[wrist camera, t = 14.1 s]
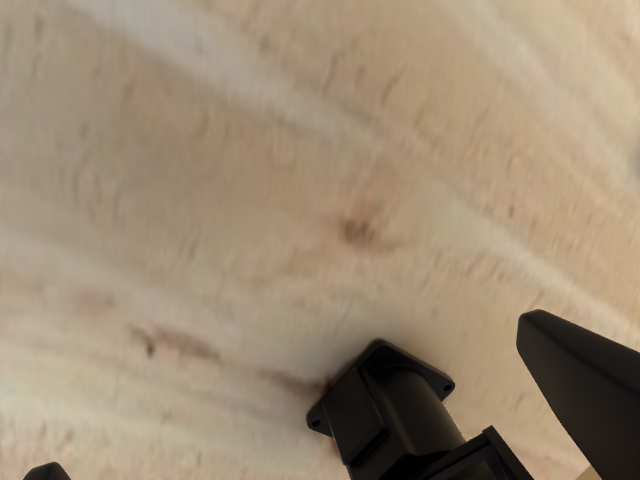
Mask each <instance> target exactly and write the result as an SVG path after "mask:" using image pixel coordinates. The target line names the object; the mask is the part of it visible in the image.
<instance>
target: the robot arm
mask: <svg viewBox="0 0 640 480" xmlns="http://www.w3.org/2000/svg"><path fill="white" fill-rule="evenodd" d="M516 345H517V350H518V352H519V354H520V356H521V358H522V360H523V361H524V363H525V365H526V366H527V368H528V370H529V371H530V373H531V375H532V377H533V378H534V380H535V382H536V383H537V385H538V387H539V388H540V390H541V392H542V393H543V395H544V397H545V399H546V400H547V402H548V404H549V405H550V407H551V409H552V410H553V412H554V414H555V415H556V417H557V418H558V420H559V421H560V423H561V424H562V426H563V427H564V428H565V430H566V431H567V433H568V434H569V435H570V437H571V438H572V439H573V441H574V442H575V443H576V445H577V446H578V447H579V449H580V450H581V451H582V453H583V454H584V456H585V457H586V458H587V460H588V461H589V462H590V464H591V465H592V466H593V467H594V469H595V470H596V472H597V473H598V474H599V476H600V477H601V478H602V480H640V353H639V352H637V351H635V350H633V349H630V348H628V347H626V346H623V345H621V344H619V343H617V342H614V341H612V340H610V339H608V338H605V337H603V336H601V335H599V334H596V333H594V332H592V331H589V330H587V329H585V328H583V327H580V326H578V325H576V324H574V323H571V322H569V321H567V320H565V319H562V318H560V317H558V316H555V315H553V314H551V313H549V312H546V311H544V310H540V309H537V310H533V311H530V312H527V313H523V314H522V315H521V316H520V317H519V320H518V330H517V340H516ZM380 349H382V350H381V351H379V350H380ZM454 388H455V383H454V382H453V380H452V379H451V378H450V377H449V376H447V375H445V374H443V373H442V372H440V371H438V370H436V369H435V368H433V367H431V366H429V365H427V364H426V363H424V362H422V361H420V360H418V359H417V358H415V357H413V356H411V355H409V354H408V353H406V352H404V351H402V350H400V349H399V348H397V347H395V346H393V345H392V344H390V343H388V342H386V341H384V340H379V341H376V342H374V343H373V344H372V345H371V346H370V347H369V348H368V350H367V351H366V352H365V353H364V354H363V355H362V356H361V357H360V358H359V359H358V360H357V362H356V363H355V364H354V365H353V366H352V367H351V368H350V369H349V370H348V371H347V373H346V374H345V375H344V376H343V377H342V378H341V379H340V380H339V381H338V382H337V383H336V385H335V386H334V387H333V388H332V389H331V390H330V391H329V392H328V393H327V394H326V395H325V397H324V398H323V399H322V400H321V401H320V402H319V403H318V404H317V405H316V406H315V407H314V409H313V410H312V411H311V412H310V413H309V414H308V415H307V417H306V421H307V425H308V427H309V428H310V429H312V430H314V431H317V432H319V433H322V434H325V435H327V436H330V437H332V438H334V440H335V443H336V446H337V449H338V452H339V455H340V458H341V461H342V463H343V465H345V466H346V467H347V470H348V473H349V476H350V479H351V480H534V479H533V478H532V476H531V475H530V474H529V472H528V471H527V470H526V469H525V467H524V466H523V465H522V463H521V462H520V461H519V459H518V458H517V457H516V456H515V454H514V453H513V452H512V450H511V449H510V448H509V447H508V445H507V444H506V443H505V441H504V440H503V439H502V437H501V436H500V435H499V434H498V432H497V431H496V430H495V428H494V427H493V426H492V425H491V426H489V427H488V428H486V429H484V430H482V432H483V433H481V434H480V435H478V436H476V437H474V438H473V439H471V440H469V441H467V442H466V441H465V439H464V438H463V436H462V435H461V433H460V431H459V430H458V428H457V426H456V425H455V423H454V422H453V420H452V418H451V417H450V415H449V413H448V412H447V410H446V409H445V407H444V405H443V404H442V401H443V400H444V399H445V398H446V397H447V396H448V395H449V394H450V393H451V392H452V391H453V390H454ZM314 420H315V421H314ZM23 480H71V479H70V477H69V476H68V475H67V473H66V472H65V471H64V469H63V468H62V467H61V465H60V464H59V463H56V462H51V463H48V464H44V465H41V466H38V467H35V468H33V469H31V470H30V471H29V472H28V473H27V475H26V476H25V477H24V479H23Z"/></svg>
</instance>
